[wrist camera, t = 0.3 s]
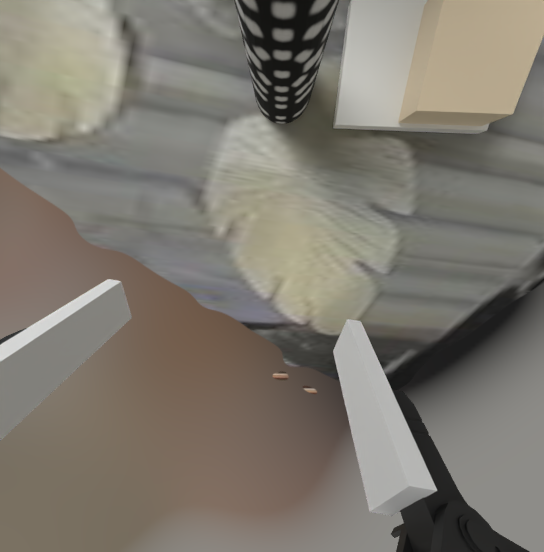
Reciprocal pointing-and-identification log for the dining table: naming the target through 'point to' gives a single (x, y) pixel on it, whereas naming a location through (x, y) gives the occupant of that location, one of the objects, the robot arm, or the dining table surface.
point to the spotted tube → (284, 51)
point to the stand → (435, 63)
